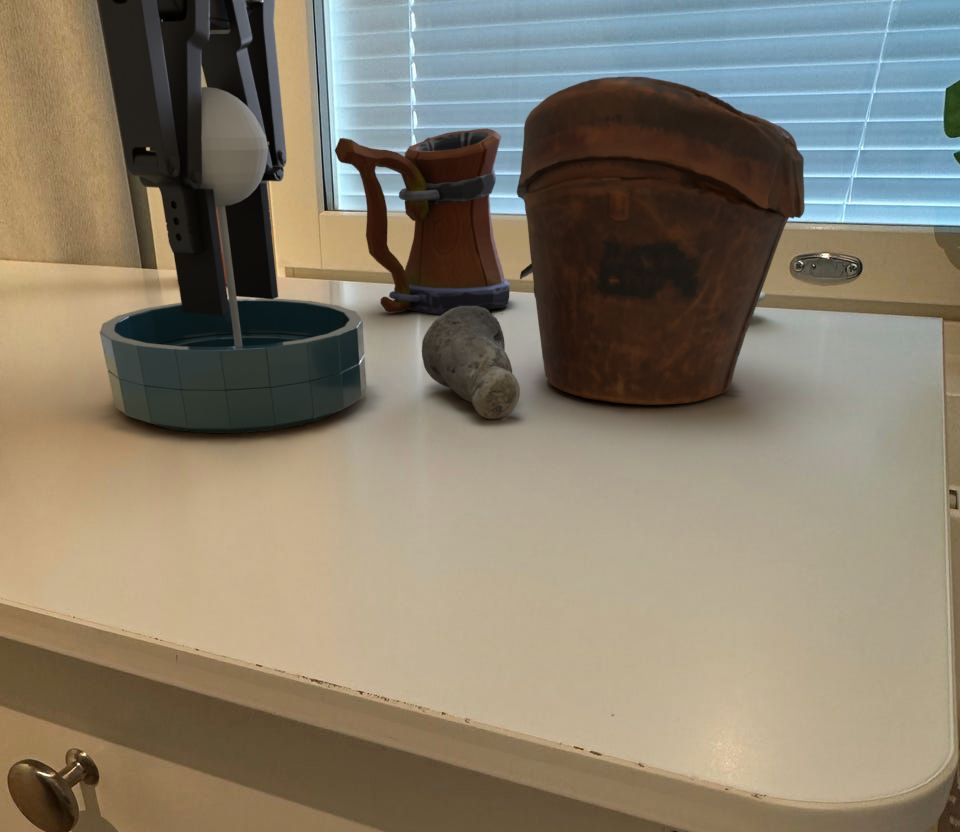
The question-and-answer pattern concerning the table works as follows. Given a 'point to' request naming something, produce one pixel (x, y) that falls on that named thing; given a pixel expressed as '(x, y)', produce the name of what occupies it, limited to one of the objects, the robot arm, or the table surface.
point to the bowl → (235, 365)
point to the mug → (437, 221)
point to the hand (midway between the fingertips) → (232, 303)
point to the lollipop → (230, 167)
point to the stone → (472, 360)
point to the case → (650, 235)
